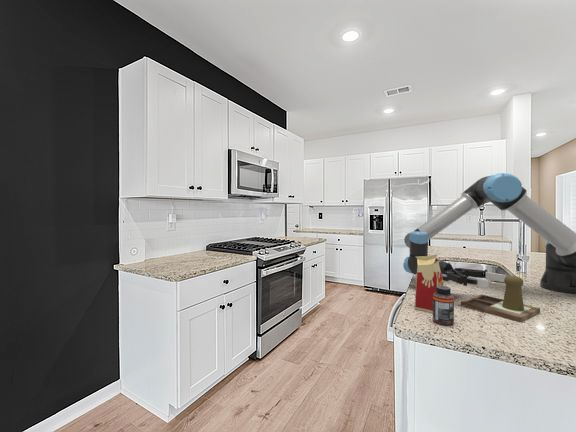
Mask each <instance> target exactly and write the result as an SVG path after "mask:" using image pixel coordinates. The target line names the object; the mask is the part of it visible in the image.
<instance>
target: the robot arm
mask: <svg viewBox="0 0 576 432" xmlns="http://www.w3.org/2000/svg"><path fill="white" fill-rule="evenodd" d="M527 192H528V191H527V189H525V187H523V184H522V182H521V180H520V179H519V178H518V177H517V176H515V175H513V174H511V173H504V172H501V173H495V174H492V175H488V176H484V177H481V178H479V179H478V180H477V181H475V182H474V183H473V184H471V185H470V186H469V187H467V189H465V190H464V191H463V192H461V195H460V197H459V198H457V199H456V200H454V201H453V202H451V203H450V204H448V205H447V206H445V208H443V209H442V210H440V211H439V212H438V213H436V214H435V215H433V216H432V217H430V219H428V220H427V221H425V222H424V223H422V224H421V225H420V226H419V227H418V228H416V229H414V231H411V232H409V233H407V234H406V235H404V239H403V240H404V241H403V242H404V244H405V246H406V247H408V248H409V256H406V257H405V258H404V262H403V264H402V265H403V269H404V271H405V272H406V273H408V274H412V275H415V276H417V267H418V263H417V258H416V257H421V256H429V254H428V253H429V252H428V251H429V241H430V240H431V239H432V238H434V237H435V236H436V235H438V234H440V232H442V231H444V230H445V229H446V228H448V227H449V226H450V225H452V224H453V223H455V222H456V221H457V220H459V219H460V218H462V217H463V216H465V215H466V214H467V213H469V212H470V211H472V210H473V209H478V208H480V207H481V206H483V205H485V204H489V203H491V204H493V205H494V206H495V207H497V208H498V209H499V210H501V211H508V212H509V213H511V214H512V215H513V216H514V217H516V218H517V219H518V220H520V221H521V222H522V223H523V224H525V225H526V226H527V227H528V228H530V229H531V230H532V231H534V233H536V234H537V235H538V236H540V237H541V238H542V239H544V240H545V241H546V243H545V269H544V270H545V271H544V272H543V274H542V277H541V279H540V281H539V286H540V287H541V288H543V289H545V290H549V291H550V290H551V291H555V292H559V293H566V294H576V232H575V231H574V230H572V228H569V226H567V225H566V224H565V223H564V222H562V221H561V220H560V219H558V218H557V217H556V216H555V215H553V214H551V213H550V212H549V211H548V210H546V209H545V208H543V206H541V205H540V204H538V203H537V202H536V201H534V200H533V199H532V198H530V197H529V196H528V195H527ZM438 262H439V266H440V270H441V274H442V279H443V282H444V281H445V282H448V281H451V282H454V283H456V284H459V285H463V286H464V287H468V285H471V286H477V287H480V288H483V289H484V288H485V289H489V287H490V281H495V282H501V283H504V284H505V282H504V279H505V277H506V276H507V275H506V274H501V273H497V272H496V273H495V272H489V271H488V269H484V270H482V269H481V270H480V269H473V268H472V269H470V268H463V267H455V268H453V265H452V263H450V262H446V261H440V260H438Z"/></svg>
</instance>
